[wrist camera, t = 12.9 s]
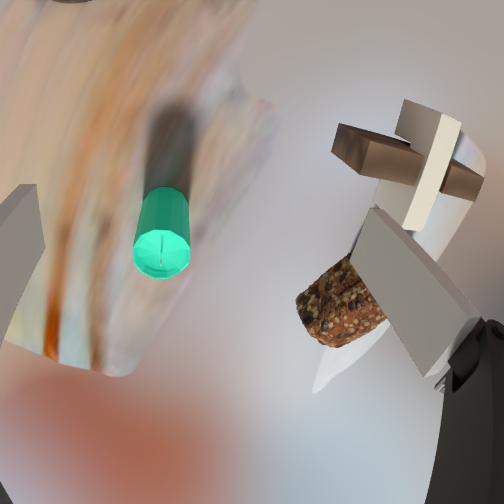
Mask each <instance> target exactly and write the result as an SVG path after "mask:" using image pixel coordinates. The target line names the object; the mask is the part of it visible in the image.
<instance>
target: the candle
mask: <svg viewBox="0 0 504 504" xmlns="http://www.w3.org/2000/svg"><path fill="white" fill-rule="evenodd" d="M190 250H191V247H190V230H189V209H188V202H187V200H186V199H185V197H184V195H183V193H181V192H179V191H178V190H176V189H174V188H173V187H159V188H157V189H155V190H153V191H151V192H149V193H148V195H147V196H146V198H145V199H144V201H143V203H142V208H141V212H140V216H139V221H138V225H137V230H136V235H135V239H134V244H133V263H134V264H135V265H136V266H137V268H138V269H139V270H140V271H141V272H142V273H144V274H146V275H148V276H150V277H151V278H153V279H169V278H171V277H172V276H174V275H176V274H178V273H179V272H181V271H182V270H183V269H184V268H185V267H186V266H187V265H188V264H189V263H190Z"/></svg>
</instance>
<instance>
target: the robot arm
mask: <svg viewBox="0 0 504 504" xmlns="http://www.w3.org/2000/svg"><path fill="white" fill-rule="evenodd" d="M53 1H56V2H60V3H82V2H87V1H91V0H53ZM45 248H46V247H45V242H44V236H43V230H42V224H41V218H40V211H39V203H38V195H37V185H36V184H20V185H19V186H18V187H17V188H16V189H15V190H14V191H13V192H12V193H11V194H10V195H9V196H8V197H7V198H6V199H5V200H4V201H3V202H2V203H1V205H0V347H1V344H2V342H3V339H4V336H5V334H6V331H7V329H8V326H9V324H10V321H11V319H12V317H13V314H14V312H15V309H16V307H17V305H18V303H19V300H20V298H21V296H22V294H23V292H24V290H25V287H26V285H27V283H28V281H29V279H30V277H31V275H32V273H33V271H34V269H35V267H36V265H37V263H38V261H39V259H40V257H41V255H42V254H43V252H44V250H45ZM349 261H350V263H351V264H352V266H353V267H354V269H355V270H356V272H357V273H358V275H359V276H360V278H361V279H362V281H363V282H364V283H365V285H366V286H367V288H368V289H369V291H370V293H371V294H372V296H373V297H374V299H375V300H376V302H377V303H378V305H379V306H380V308H381V309H382V311H383V312H384V314H385V316H386V317H387V319H388V320H389V322H390V323H391V325H392V326H393V328H394V330H395V331H396V333H397V335H398V336H399V338H400V340H401V341H402V343H403V344H404V346H405V348H406V349H407V351H408V352H409V354H410V356H411V358H412V359H413V361H414V362H415V364H416V366H417V368H418V369H419V371H420V373H421V375H422V376H423V377H427V376H431V375H434V374H437V373H438V372H439V371H440V370H441V369H442V368H443V366H444V365H445V364H446V363H447V362H448V363H449V365H450V366H451V368H450V369H449V370H448V372H447V373H446V374H445V375H444V376H443V377H442V378H441V380H440V381H439V382H438V383H437V384H436V385H435V388H434V389H435V390H437V389H438V388H439V387H440V386H441V384H445V386H444V387H443V388H442V389H441V390H440V392H442V393H444V402H443V411H442V419H441V426H440V433H439V439H438V445H437V451H436V456H435V462H434V466H433V471H432V476H431V480H430V485H429V489H428V493H427V497H426V500H425V504H504V326H503V325H502V324H501V323H499V322H498V321H495V320H488V321H487V322H485V321H484V320H483V319H482V317H481V315H480V313H479V312H478V311H477V310H476V308H475V307H474V306H473V305H472V303H471V302H470V301H469V300H468V299H467V298H466V296H465V295H464V294H463V293H462V292H461V291H460V289H459V288H458V287H457V286H456V285H455V284H454V282H452V280H451V279H450V278H449V277H448V276H447V275H446V273H445V272H444V271H443V270H442V269H441V268H440V267H439V266H438V265H437V263H436V262H435V261H434V260H433V259H432V258H431V257H430V256H429V255H428V254H427V253H426V252H425V250H424V249H423V248H422V247H421V246H420V245H419V244H418V243H417V242H416V241H415V240H414V239H413V238H412V237H411V236H410V235H409V234H408V233H407V232H406V231H405V230H404V229H403V228H402V227H401V226H400V225H399V224H398V223H397V222H396V221H395V220H394V219H393V218H392V217H391V216H390V215H389V214H388V213H387V212H386V211H385V210H383V209H377V208H370V209H369V211H368V214H367V217H366V219H365V222H364V225H363V227H362V230H361V232H360V235H359V238H358V240H357V243H356V245H355V248H354V250H353V253H352V255H351V258H350V260H349ZM0 504H13V503H12V501H11V499H10V498H9V496H8V494H7V493H6V491H5V489H4V488H3V486H2V484H1V482H0Z"/></svg>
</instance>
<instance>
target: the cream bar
mask: <svg viewBox="0 0 504 504" xmlns="http://www.w3.org/2000/svg"><path fill="white" fill-rule="evenodd" d="M461 125H462V123H461V122H460V121H457V120H455V119H453V118H451V117H449V116H447V115H445V114H443V113H440V112H438V111H436V110H433V109H430V108H428V107H425V106H422V105H420V104H417V103H414V102H411V101H408V100H405V99H404V102H403V106H402V110H401V113H400V116H399V120H398V123H397V127H396V130H395V134H396V135H398V136H400V137H402V138H404V139H405V140H407V141H409V142H411V144H410V147H409V148H411V149H412V150H414V151H416V152H418V153H419V154H421V155H423V156H424V160H423V163H422V166H421V169H420V171H419V174H418V177H417V180H416V183H415V185H414V186H411V185H406V184H402V183H397V182H393V181H388V180H383V179H380V180H379V184H378V186H377V189H376V193H375V195H374V198H373V202H374V203H375V204H376V205H377V206H378V207H379V208H380V209H383V210H385V211H386V212H387V213H388V214H389V215H390V216H391V217H392V218H393V219H394V220H395V221H396V222H397V223H398V224H399V225H400V226H401V227H402V228H403V229H405V230H413V231H422V229H423V227H424V225H425V223H426V220H427V218H428V216H429V213H430V211H431V208H432V206H433V204H434V201H435V199H436V196H437V194H438V191H439V188H440V186H441V183H442V181H443V178H444V175H445V173H446V170H447V167H448V164H449V161H450V159H451V156H452V153H453V150H454V147H455V144H456V141H457V138H458V134H459V131H460V128H461Z"/></svg>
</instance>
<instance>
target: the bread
mask: <svg viewBox="0 0 504 504" xmlns="http://www.w3.org/2000/svg"><path fill="white" fill-rule="evenodd" d="M352 253H353V251H351V253H348V255H347V256H345V257H344V258H343V259H342V260H340V261H339V262H338V263H337V264H335V265H334V266H333V267H331V268H330V269H329V270H327V271H326V272H325V273H324V274H322V275H321V276H320V278H319V279H318V280H317V281H315V282H314V283H313V284H312V285H310V286H309V288H308V289H307V290H305V291H304V292H303V293H300V294H299V295H298V297H297V298H296V305H297V310H298V314H299V316H300V319H301V320H302V323H303V324H304V326H305V328H306V329H307V331H308V333H309V334H310V336H312V337H314V338H316V339H317V340H318V341H319V343H321V344H322V345H328V346H329V347H332V348H333V347H335V348H339V347H342V346H343V345H345V344H349V343H350V342H351V341H353V340H356V339H357V338H360V337H361V336H363V335H365V334H367V333H369V332H370V331H371V330H373V329H375V328H376V327H377V325H379V324H380V323H382V322H383V321H384V320H385V319H387V317H386V316H385V314H384V312H383V311H382V309H381V308H380V306H379V305H378V303H377V302H376V300H375V299H374V297H373V296H372V294H371V293H370V291H369V289H368V288H367V286H366V285H365V283H364V282H363V281H362V279H361V278H360V276H359V275H358V273H357V272H356V270H355V269H354V267H353V266H352V264H351V263H350V261H349V260H350V258H351V255H352Z"/></svg>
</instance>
